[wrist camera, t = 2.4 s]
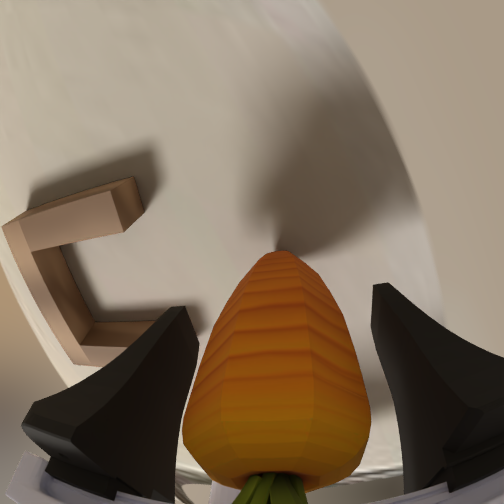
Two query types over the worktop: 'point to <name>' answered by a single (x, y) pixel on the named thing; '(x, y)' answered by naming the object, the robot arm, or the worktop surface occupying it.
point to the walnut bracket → (58, 274)
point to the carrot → (278, 389)
